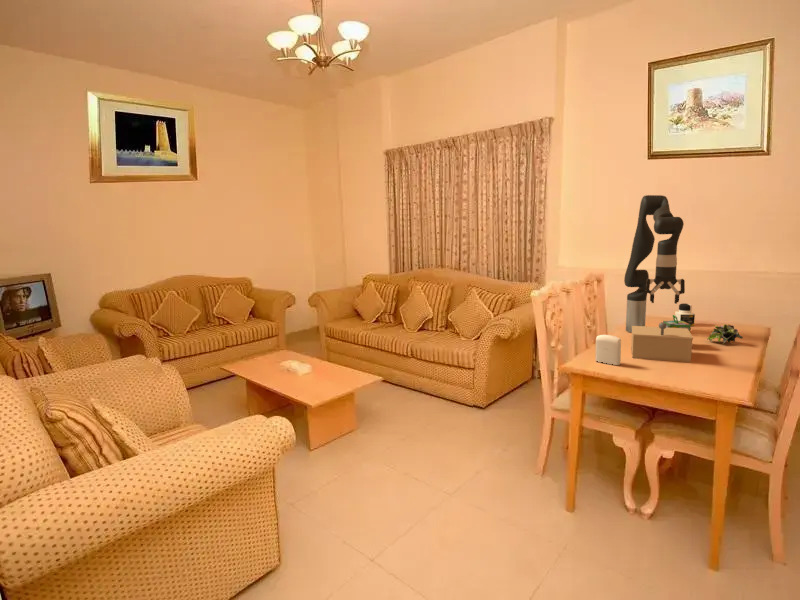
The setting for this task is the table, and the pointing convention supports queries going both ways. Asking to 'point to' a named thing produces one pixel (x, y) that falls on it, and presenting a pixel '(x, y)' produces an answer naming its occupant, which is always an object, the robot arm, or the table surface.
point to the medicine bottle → (685, 314)
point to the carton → (661, 348)
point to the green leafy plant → (725, 333)
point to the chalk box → (677, 324)
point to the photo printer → (608, 349)
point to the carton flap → (661, 332)
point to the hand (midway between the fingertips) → (664, 303)
